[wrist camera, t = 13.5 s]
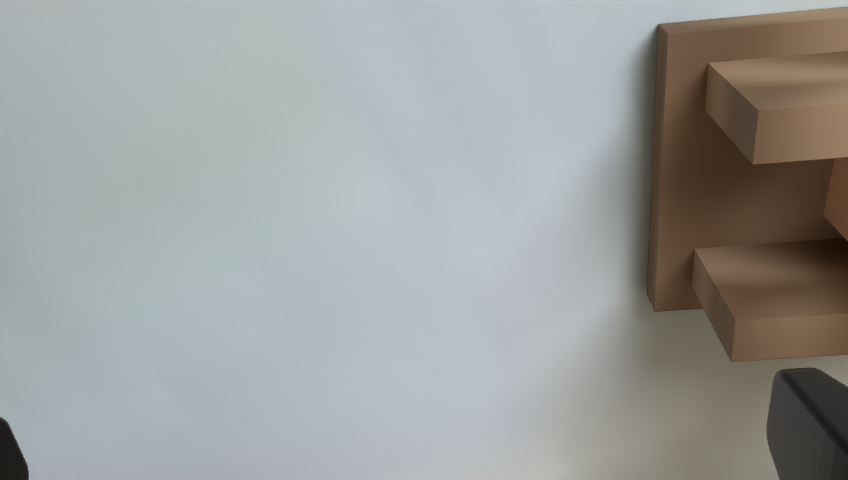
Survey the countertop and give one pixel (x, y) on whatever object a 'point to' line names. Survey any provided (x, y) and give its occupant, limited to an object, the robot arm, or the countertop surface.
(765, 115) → the drying rack
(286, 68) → the countertop surface
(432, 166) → the countertop surface
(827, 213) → the clay strip
